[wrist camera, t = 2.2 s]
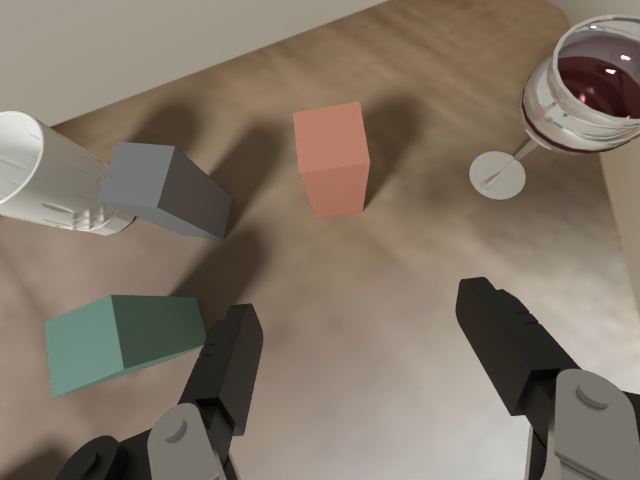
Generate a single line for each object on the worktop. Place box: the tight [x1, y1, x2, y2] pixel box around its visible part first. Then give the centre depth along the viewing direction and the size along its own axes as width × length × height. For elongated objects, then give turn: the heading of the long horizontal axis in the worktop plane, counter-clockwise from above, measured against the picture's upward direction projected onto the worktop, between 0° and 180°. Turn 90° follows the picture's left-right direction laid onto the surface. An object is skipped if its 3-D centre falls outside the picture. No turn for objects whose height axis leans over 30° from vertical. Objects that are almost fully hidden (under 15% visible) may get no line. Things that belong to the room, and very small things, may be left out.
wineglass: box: [469, 14, 640, 200], centre depth 19 cm, size 7×7×12 cm
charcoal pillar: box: [97, 142, 233, 240], centre depth 23 cm, size 4×4×10 cm
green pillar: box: [44, 295, 207, 398], centre depth 20 cm, size 4×4×10 cm
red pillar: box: [293, 101, 370, 218], centre depth 22 cm, size 4×4×10 cm
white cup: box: [0, 111, 135, 235], centre depth 24 cm, size 8×8×10 cm
